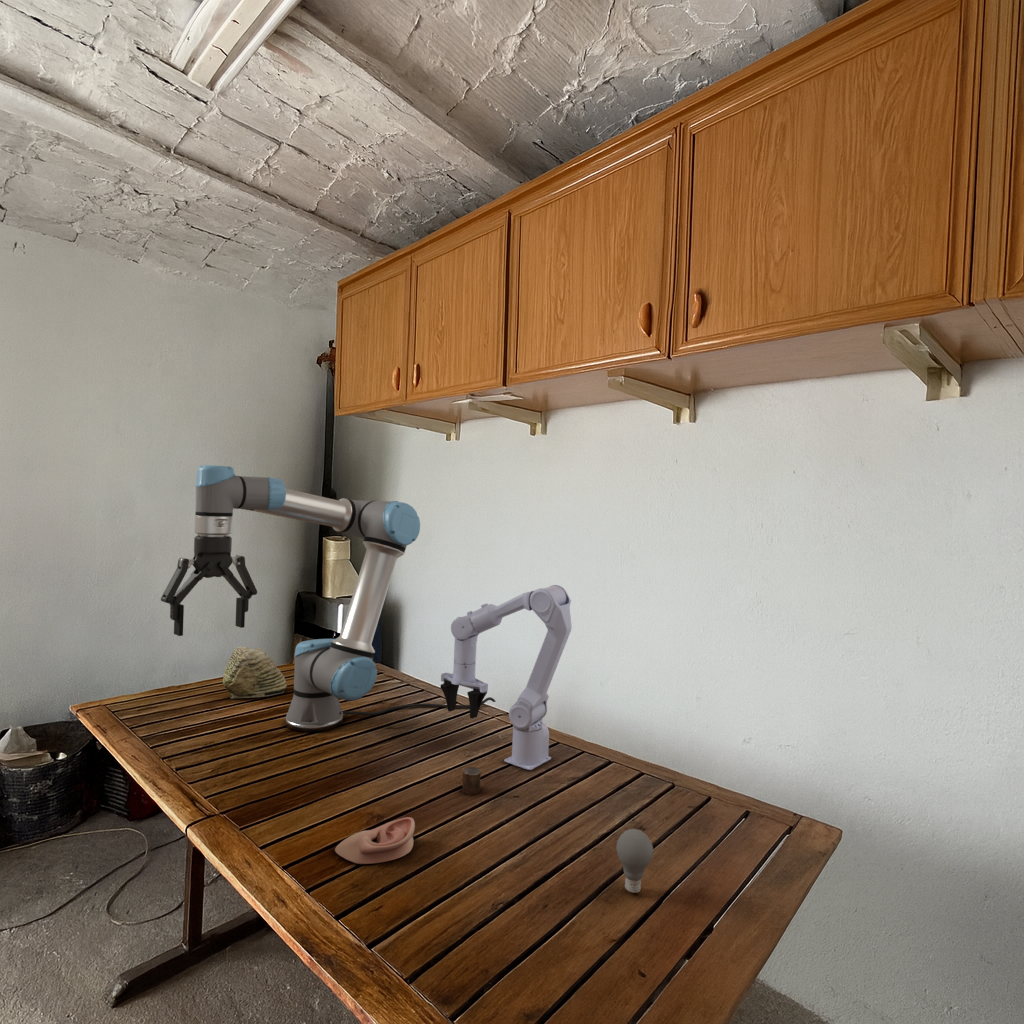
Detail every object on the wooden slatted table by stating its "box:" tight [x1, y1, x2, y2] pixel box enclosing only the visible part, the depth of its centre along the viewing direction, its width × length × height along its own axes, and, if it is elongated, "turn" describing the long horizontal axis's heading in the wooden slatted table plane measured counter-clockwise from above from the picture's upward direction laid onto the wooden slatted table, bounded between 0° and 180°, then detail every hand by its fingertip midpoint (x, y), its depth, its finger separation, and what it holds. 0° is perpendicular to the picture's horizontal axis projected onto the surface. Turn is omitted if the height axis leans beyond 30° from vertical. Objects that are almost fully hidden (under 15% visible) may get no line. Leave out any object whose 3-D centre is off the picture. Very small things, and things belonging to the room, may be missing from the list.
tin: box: [461, 766, 482, 796], centre depth 140 cm, size 4×4×4 cm
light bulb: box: [615, 828, 654, 894], centre depth 106 cm, size 6×6×10 cm
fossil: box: [222, 646, 288, 699], centre depth 198 cm, size 9×18×15 cm, turn 132°
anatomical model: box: [334, 816, 416, 865], centre depth 115 cm, size 13×4×12 cm
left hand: (210, 630), depth 141 cm, fingers open, 13 cm apart
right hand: (462, 713), depth 165 cm, fingers open, 7 cm apart
